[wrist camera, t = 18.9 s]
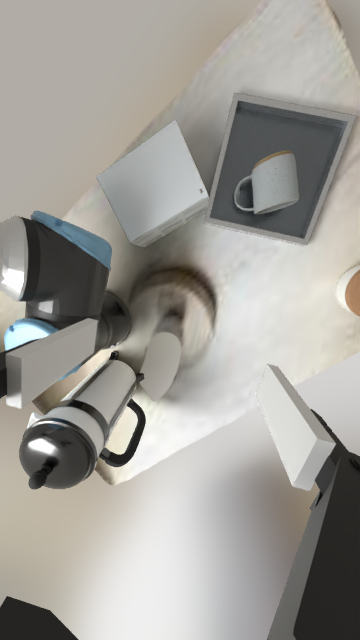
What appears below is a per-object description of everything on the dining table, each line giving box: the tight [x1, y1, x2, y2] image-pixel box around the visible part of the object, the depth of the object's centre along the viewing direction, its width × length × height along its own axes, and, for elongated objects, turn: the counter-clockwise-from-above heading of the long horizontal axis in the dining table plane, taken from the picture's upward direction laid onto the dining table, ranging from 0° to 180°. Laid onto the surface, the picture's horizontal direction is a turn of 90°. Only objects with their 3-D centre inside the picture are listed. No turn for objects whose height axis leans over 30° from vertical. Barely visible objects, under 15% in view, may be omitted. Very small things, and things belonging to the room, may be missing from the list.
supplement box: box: [96, 120, 209, 248], centre depth 40 cm, size 17×13×9 cm
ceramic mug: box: [234, 150, 299, 214], centre depth 37 cm, size 11×8×8 cm
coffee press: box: [19, 352, 146, 489], centre depth 42 cm, size 17×16×30 cm
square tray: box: [204, 93, 356, 246], centre depth 40 cm, size 22×22×2 cm
